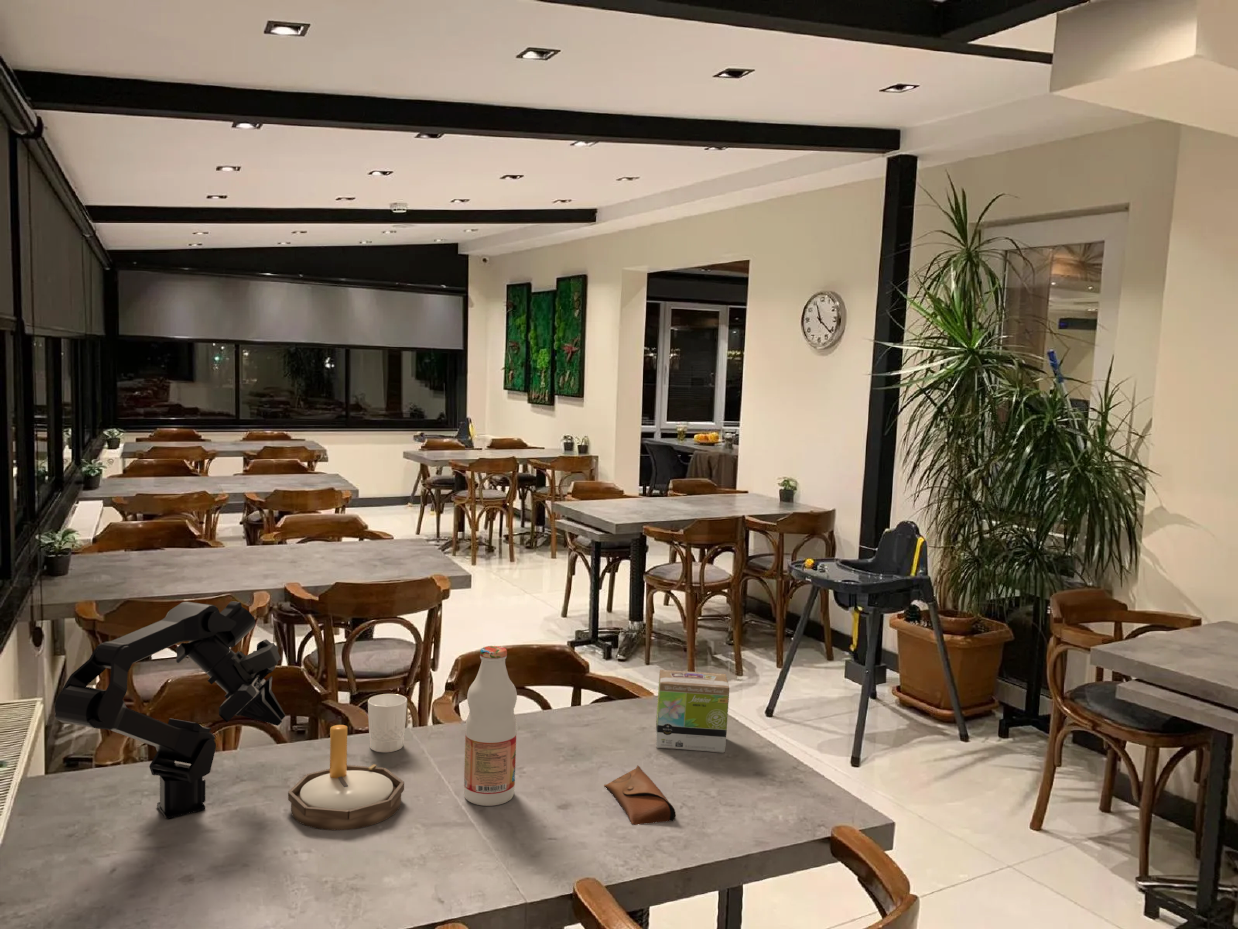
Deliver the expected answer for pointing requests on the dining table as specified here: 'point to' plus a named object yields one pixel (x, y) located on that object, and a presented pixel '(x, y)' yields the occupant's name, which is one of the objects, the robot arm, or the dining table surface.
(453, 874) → the dining table surface
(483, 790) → the fruit juice
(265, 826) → the dining table surface
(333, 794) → the dial
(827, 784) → the dining table surface
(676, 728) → the tea box
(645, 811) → the sunglasses case
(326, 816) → the dial housing
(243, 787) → the dining table surface
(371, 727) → the white cup
